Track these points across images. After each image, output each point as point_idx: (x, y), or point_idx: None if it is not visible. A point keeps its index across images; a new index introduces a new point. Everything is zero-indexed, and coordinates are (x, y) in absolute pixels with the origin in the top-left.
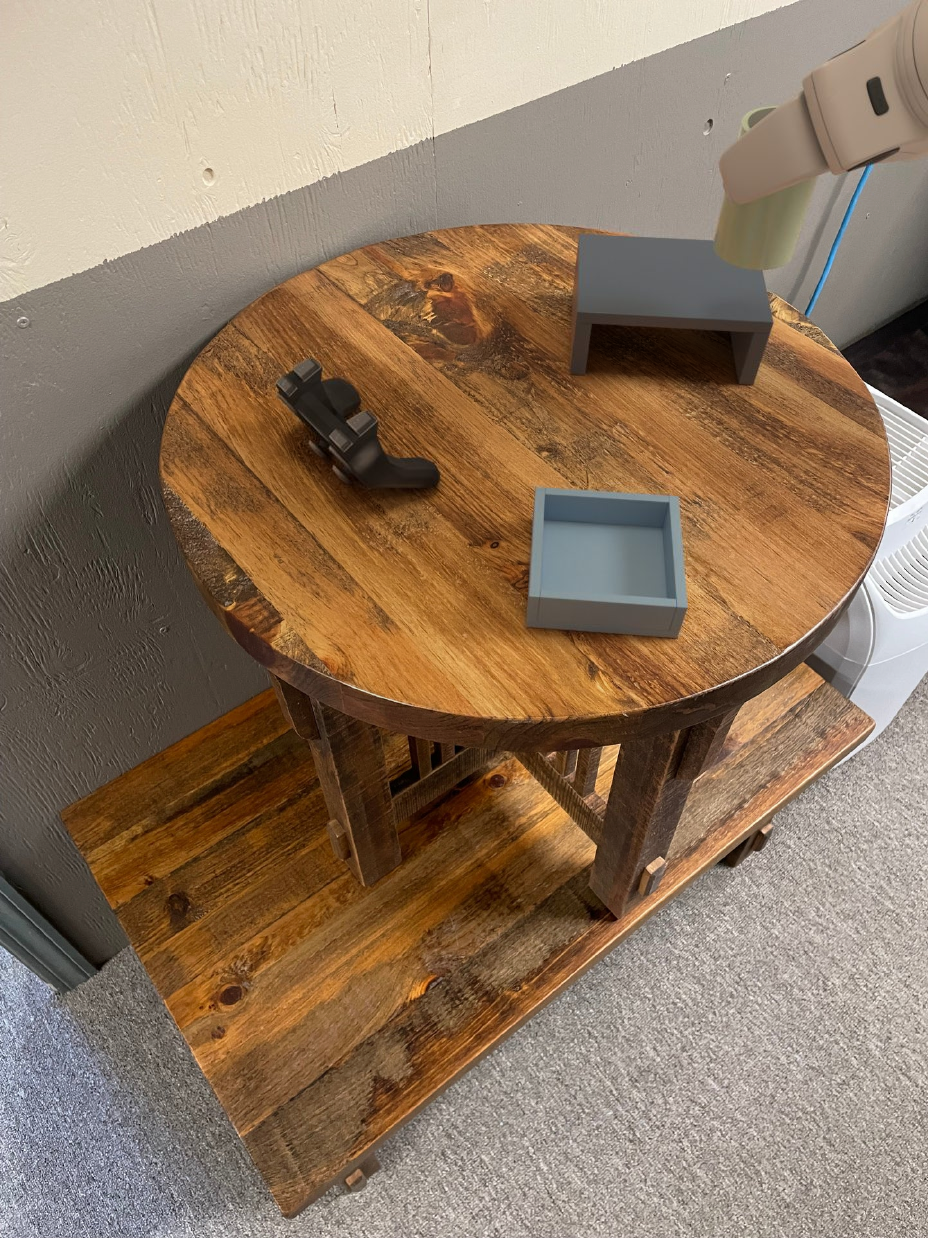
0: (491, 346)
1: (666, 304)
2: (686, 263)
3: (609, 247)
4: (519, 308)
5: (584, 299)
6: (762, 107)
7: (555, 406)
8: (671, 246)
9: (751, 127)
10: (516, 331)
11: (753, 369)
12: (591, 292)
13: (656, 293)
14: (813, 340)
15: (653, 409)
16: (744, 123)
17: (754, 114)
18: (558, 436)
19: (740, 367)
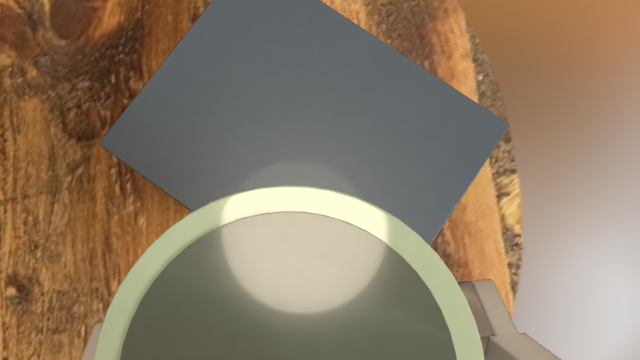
0: (91, 59)
1: None
2: (352, 118)
3: (266, 13)
4: (178, 3)
5: (130, 120)
6: (315, 192)
7: (85, 214)
8: (364, 62)
9: (131, 325)
10: (141, 47)
11: None
12: (153, 109)
13: (246, 166)
14: (511, 280)
15: None
16: (145, 270)
17: (230, 234)
18: (48, 270)
19: None
